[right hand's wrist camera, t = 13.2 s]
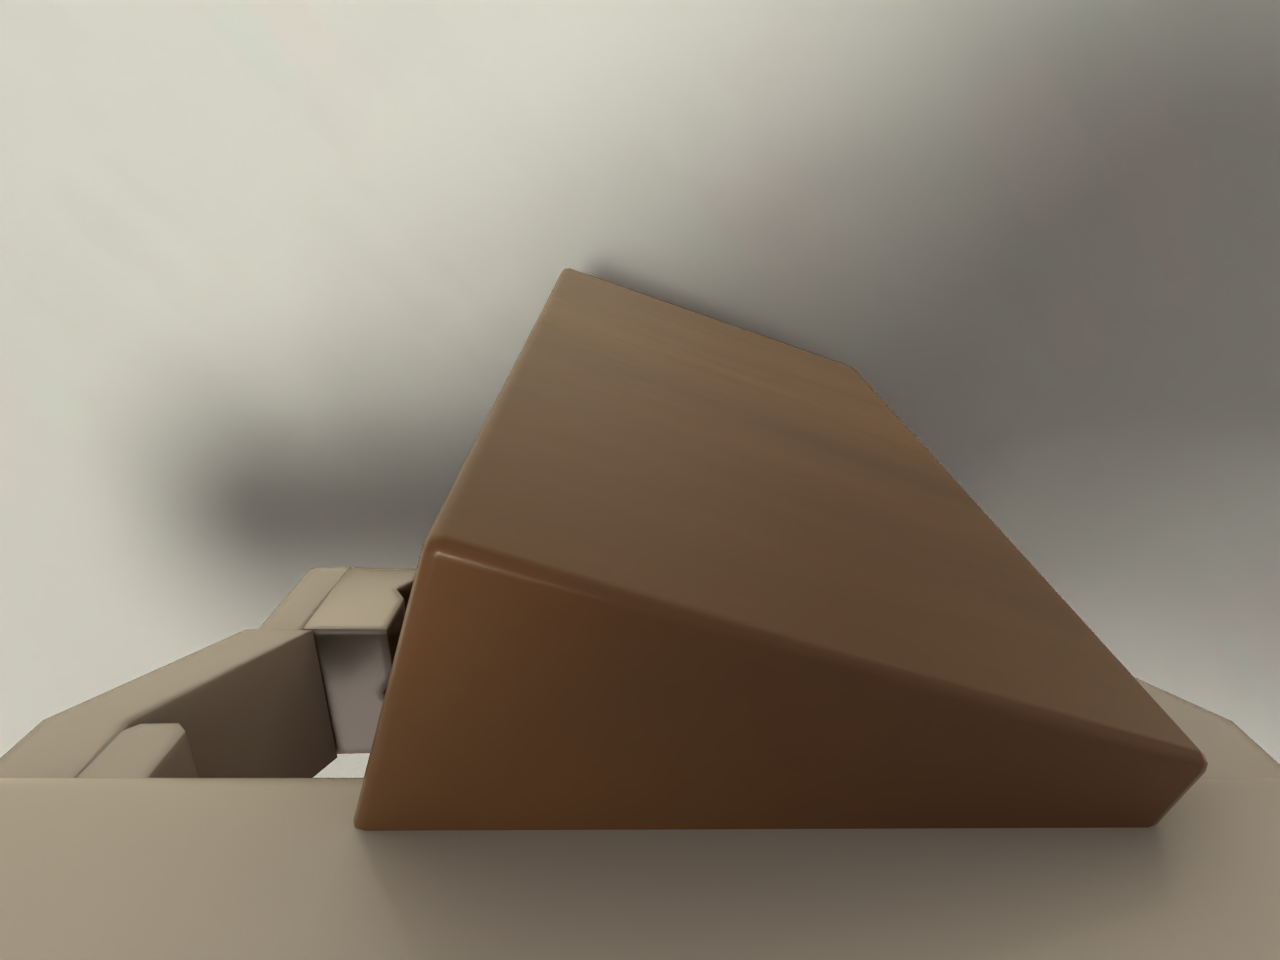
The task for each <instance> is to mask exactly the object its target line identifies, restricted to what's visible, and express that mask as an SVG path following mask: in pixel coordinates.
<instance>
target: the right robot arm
mask: <svg viewBox="0 0 1280 960" xmlns="http://www.w3.org/2000/svg"><path fill="white" fill-rule="evenodd" d="M415 573H416V569H406V568H352V567H322V568H312V569H310V570H309V572H308V573H307V574H306V575H305V576H304V577H303V578H302V580H301V581H300V582H299V583H298V584H297V585H296V586H295V588H294V589H293V590H292V591H291V592H290V593H289V595H288V596H287V597H286V598H285V599H284V600H283V601H282V603H281V604H280V605H279V606H278V607H277V608H276V609H275V611H274V612H273V613H272V614H271V615H270V616H269V617H268V619H267V620H266V621H265V622H264V623H263V624H262V626H261V627H260V628H259V629H258V630H244V631H242V632H240V633H237V634H235V635H233V636H231V637H228V638H226V639H224V640H222V641H219V642H217V643H215V644H213V645H211V646H208V647H206V648H204V649H202V650H199V651H197V652H195V653H193V654H190V655H188V656H186V657H184V658H181V659H179V660H177V661H175V662H173V663H170V664H168V665H166V666H164V667H161V668H159V669H157V670H155V671H152V672H150V673H148V674H146V675H143V676H141V677H139V678H137V679H135V680H132V681H130V682H128V683H126V684H123V685H121V686H119V687H117V688H114V689H112V690H110V691H108V692H105V693H103V694H101V695H99V696H97V697H94V698H92V699H90V700H88V701H85V702H83V703H81V704H79V705H76V706H74V707H72V708H70V709H67V710H65V711H63V712H61V713H59V714H56V715H54V716H52V717H50V718H47V719H45V720H43V721H42V722H41V723H40V724H38V725H37V726H36V727H35V728H34V729H33V730H32V731H31V732H29V733H28V734H27V735H26V736H25V737H24V738H23V739H22V740H20V741H19V742H18V743H17V744H16V745H15V746H14V747H13V748H12V749H10V750H9V751H8V752H7V753H6V754H5V755H4V756H3V757H1V758H0V960H1280V764H1278V763H1277V762H1276V761H1275V760H1274V759H1273V758H1272V757H1271V756H1270V755H1269V754H1267V753H1266V752H1265V751H1264V750H1263V749H1262V748H1261V747H1260V746H1259V745H1257V744H1256V743H1255V742H1254V741H1253V740H1252V739H1251V738H1250V737H1249V736H1248V735H1246V734H1245V733H1244V732H1243V731H1242V730H1241V729H1240V728H1239V727H1238V726H1237V725H1235V724H1234V723H1233V722H1232V721H1230V720H1228V719H1225V718H1223V717H1221V716H1219V715H1217V714H1214V713H1212V712H1210V711H1208V710H1206V709H1203V708H1201V707H1199V706H1197V705H1194V704H1192V703H1190V702H1188V701H1186V700H1183V699H1181V698H1179V697H1177V696H1175V695H1172V694H1170V693H1168V692H1166V691H1163V690H1161V689H1159V688H1157V687H1155V686H1152V685H1150V684H1148V683H1146V682H1144V681H1141V680H1139V679H1137V678H1135V677H1134V678H1135V679H1136V680H1137V681H1138V682H1139V683H1140V684H1141V686H1142V687H1143V688H1144V689H1145V690H1146V691H1147V692H1148V693H1149V694H1150V695H1151V697H1152V698H1153V699H1154V700H1155V701H1156V702H1157V703H1158V704H1159V705H1160V706H1161V708H1162V709H1163V710H1164V711H1165V712H1166V713H1167V714H1168V715H1169V716H1170V717H1171V719H1172V720H1173V721H1174V722H1175V723H1176V724H1177V725H1178V726H1179V727H1180V728H1181V730H1182V731H1183V732H1184V733H1185V734H1186V735H1187V736H1188V737H1189V738H1190V739H1191V741H1192V742H1193V743H1194V744H1195V745H1196V746H1197V747H1198V748H1199V749H1200V750H1201V752H1202V753H1203V754H1204V755H1205V757H1206V759H1207V762H1208V765H1207V768H1206V771H1205V773H1204V774H1203V775H1202V776H1201V777H1200V778H1199V779H1198V780H1197V781H1196V782H1195V784H1194V785H1193V786H1192V787H1191V788H1190V789H1189V790H1188V791H1187V792H1186V793H1185V794H1184V795H1183V796H1182V798H1181V799H1180V800H1179V801H1178V802H1177V803H1176V804H1175V805H1174V806H1173V807H1172V808H1171V809H1170V810H1169V812H1168V813H1167V814H1166V815H1165V816H1164V817H1163V818H1162V819H1161V820H1160V821H1159V822H1158V823H1157V824H1156V825H1154V826H1151V827H1149V828H913V829H673V830H433V831H364V830H361V829H358V828H355V826H354V821H353V820H354V816H355V812H356V808H357V804H358V800H359V796H360V792H361V788H362V784H363V780H364V778H313V777H314V776H315V775H316V774H317V773H319V772H320V771H321V770H322V769H324V768H325V767H326V766H327V765H328V764H330V763H331V762H332V761H333V760H334V759H336V758H337V754H346V753H370V752H371V748H372V744H373V740H374V736H375V732H376V728H377V724H378V720H379V716H380V712H381V708H382V704H383V701H384V697H385V693H386V689H387V685H388V681H389V677H390V673H391V669H392V665H393V661H394V657H395V653H396V649H397V645H398V641H399V637H400V633H401V629H402V625H403V621H404V617H405V613H406V609H407V605H408V601H409V597H410V593H411V589H412V585H413V581H414V577H415Z"/></svg>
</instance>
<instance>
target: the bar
mask: <svg viewBox="0 0 1280 960" xmlns="http://www.w3.org/2000/svg"><path fill="white" fill-rule="evenodd" d="M1207 765H1208V762H1207V759H1206V757H1205V755H1204V754H1203V753H1202V752H1201V750H1200V749H1199V748H1198V747H1197V746H1196V745H1195V744H1194V743H1193V742H1192V741H1191V739H1190V738H1189V737H1188V736H1187V735H1186V734H1185V733H1184V732H1183V731H1182V730H1181V728H1180V727H1179V726H1178V725H1177V724H1176V723H1175V722H1174V721H1173V720H1172V719H1171V717H1170V716H1169V715H1168V714H1167V713H1166V712H1165V711H1164V710H1163V709H1162V708H1161V706H1160V705H1159V704H1158V703H1157V702H1156V701H1155V700H1154V699H1153V698H1152V697H1151V695H1150V694H1149V693H1148V692H1147V691H1146V690H1145V689H1144V688H1143V687H1142V686H1141V684H1140V683H1139V682H1138V681H1137V680H1136V679H1135V678H1134V677H1133V676H1132V675H1131V673H1130V672H1129V671H1128V670H1127V669H1126V668H1125V667H1124V666H1123V665H1122V664H1121V662H1120V661H1119V660H1118V659H1117V658H1116V657H1115V656H1114V655H1113V654H1112V653H1111V651H1110V650H1109V649H1108V648H1107V647H1106V646H1105V645H1104V644H1103V643H1102V642H1101V640H1100V639H1099V638H1098V637H1097V636H1096V635H1095V634H1094V633H1093V632H1092V631H1091V629H1090V628H1089V627H1088V626H1087V625H1086V624H1085V623H1084V622H1083V621H1082V620H1081V618H1080V617H1079V616H1078V615H1077V614H1076V613H1075V612H1074V611H1073V610H1072V609H1071V607H1070V606H1069V605H1068V604H1067V603H1066V602H1065V601H1064V600H1063V599H1062V598H1061V596H1060V595H1059V594H1058V593H1057V592H1056V591H1055V590H1054V589H1053V588H1052V586H1051V585H1050V584H1049V583H1048V582H1047V581H1046V580H1045V579H1044V578H1043V577H1042V575H1041V574H1040V573H1039V572H1038V571H1037V570H1036V569H1035V568H1034V567H1033V566H1032V564H1031V563H1030V562H1029V561H1028V560H1027V559H1026V558H1025V557H1024V556H1023V555H1022V553H1021V552H1020V551H1019V550H1018V549H1017V548H1016V547H1015V546H1014V545H1013V544H1012V542H1011V541H1010V540H1009V539H1008V538H1007V537H1006V536H1005V535H1004V534H1003V533H1002V531H1001V530H1000V529H999V528H998V527H997V526H996V525H995V524H994V523H993V522H992V520H991V519H990V518H989V517H988V516H987V515H986V514H985V513H984V512H983V511H982V509H981V508H980V507H979V506H978V505H977V504H976V503H975V502H974V501H973V500H972V498H971V497H970V496H969V495H968V494H967V493H966V492H965V491H964V490H963V489H962V487H961V486H960V485H959V484H958V483H957V482H956V481H955V480H954V479H953V478H952V476H951V475H950V474H949V473H948V472H947V471H946V470H945V469H944V468H943V467H942V465H941V464H940V463H939V462H938V461H937V460H936V459H935V458H934V457H933V456H932V454H931V453H930V452H929V451H928V450H927V449H926V448H925V447H924V446H923V445H922V443H921V442H920V441H919V440H918V439H917V438H916V437H915V436H914V435H913V434H912V432H911V431H910V430H909V429H908V428H907V427H906V426H905V425H904V424H903V423H902V421H901V420H900V419H899V418H898V417H897V416H896V415H895V414H894V413H893V412H892V410H891V409H890V408H889V407H888V406H887V405H886V404H885V403H884V402H883V401H882V399H881V398H880V397H879V396H878V395H877V394H876V393H875V392H874V391H873V390H872V388H871V387H870V386H869V385H868V384H867V383H866V382H865V381H864V380H863V379H862V377H861V376H860V375H859V374H858V373H857V372H856V371H855V370H854V369H853V368H852V367H851V366H848V365H845V364H842V363H839V362H836V361H834V360H831V359H828V358H825V357H822V356H819V355H816V354H813V353H811V352H808V351H805V350H802V349H799V348H796V347H793V346H791V345H788V344H785V343H782V342H779V341H776V340H773V339H770V338H768V337H765V336H762V335H759V334H756V333H753V332H750V331H747V330H745V329H742V328H739V327H736V326H733V325H730V324H727V323H725V322H722V321H719V320H716V319H713V318H710V317H707V316H704V315H702V314H699V313H696V312H693V311H690V310H687V309H684V308H681V307H679V306H676V305H673V304H670V303H667V302H664V301H661V300H659V299H656V298H653V297H650V296H647V295H644V294H641V293H638V292H636V291H633V290H630V289H627V288H624V287H621V286H618V285H615V284H613V283H610V282H607V281H604V280H601V279H598V278H595V277H592V276H590V275H587V274H584V273H581V272H578V271H575V270H572V269H564V270H563V271H562V273H561V275H560V277H559V278H558V280H557V282H556V284H555V286H554V288H553V290H552V292H551V294H550V296H549V298H548V300H547V302H546V304H545V306H544V308H543V310H542V312H541V314H540V316H539V318H538V320H537V322H536V324H535V325H534V327H533V329H532V331H531V333H530V335H529V337H528V339H527V341H526V343H525V345H524V347H523V349H522V351H521V353H520V355H519V357H518V359H517V361H516V363H515V365H514V367H513V369H512V371H511V373H510V374H509V376H508V378H507V380H506V382H505V384H504V386H503V388H502V390H501V392H500V394H499V396H498V398H497V400H496V402H495V404H494V406H493V408H492V410H491V412H490V414H489V416H488V418H487V420H486V421H485V423H484V425H483V427H482V429H481V431H480V433H479V435H478V437H477V439H476V441H475V443H474V445H473V447H472V449H471V451H470V453H469V455H468V457H467V459H466V461H465V463H464V465H463V467H462V469H461V470H460V472H459V474H458V476H457V478H456V480H455V482H454V484H453V486H452V488H451V490H450V492H449V494H448V496H447V498H446V500H445V502H444V504H443V506H442V508H441V510H440V512H439V514H438V516H437V517H436V519H435V521H434V523H433V525H432V527H431V529H430V531H429V533H428V535H427V537H426V539H425V541H424V543H423V545H422V549H421V553H420V557H419V561H418V565H417V569H416V573H415V577H414V581H413V585H412V589H411V593H410V597H409V601H408V605H407V609H406V613H405V617H404V621H403V625H402V629H401V633H400V637H399V641H398V645H397V649H396V653H395V657H394V661H393V665H392V669H391V673H390V677H389V681H388V685H387V689H386V693H385V697H384V701H383V704H382V708H381V712H380V716H379V720H378V724H377V728H376V732H375V736H374V740H373V744H372V748H371V752H370V756H369V760H368V764H367V768H366V772H365V776H364V780H363V784H362V788H361V792H360V796H359V800H358V804H357V808H356V812H355V816H354V820H353V821H354V826H355V828H358V829H361V830H364V831H433V830H673V829H913V828H1149V827H1151V826H1154V825H1156V824H1157V823H1158V822H1159V821H1160V820H1161V819H1162V818H1163V817H1164V816H1165V815H1166V814H1167V813H1168V812H1169V810H1170V809H1171V808H1172V807H1173V806H1174V805H1175V804H1176V803H1177V802H1178V801H1179V800H1180V799H1181V798H1182V796H1183V795H1184V794H1185V793H1186V792H1187V791H1188V790H1189V789H1190V788H1191V787H1192V786H1193V785H1194V784H1195V782H1196V781H1197V780H1198V779H1199V778H1200V777H1201V776H1202V775H1203V774H1204V773H1205V771H1206V768H1207Z"/></svg>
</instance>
